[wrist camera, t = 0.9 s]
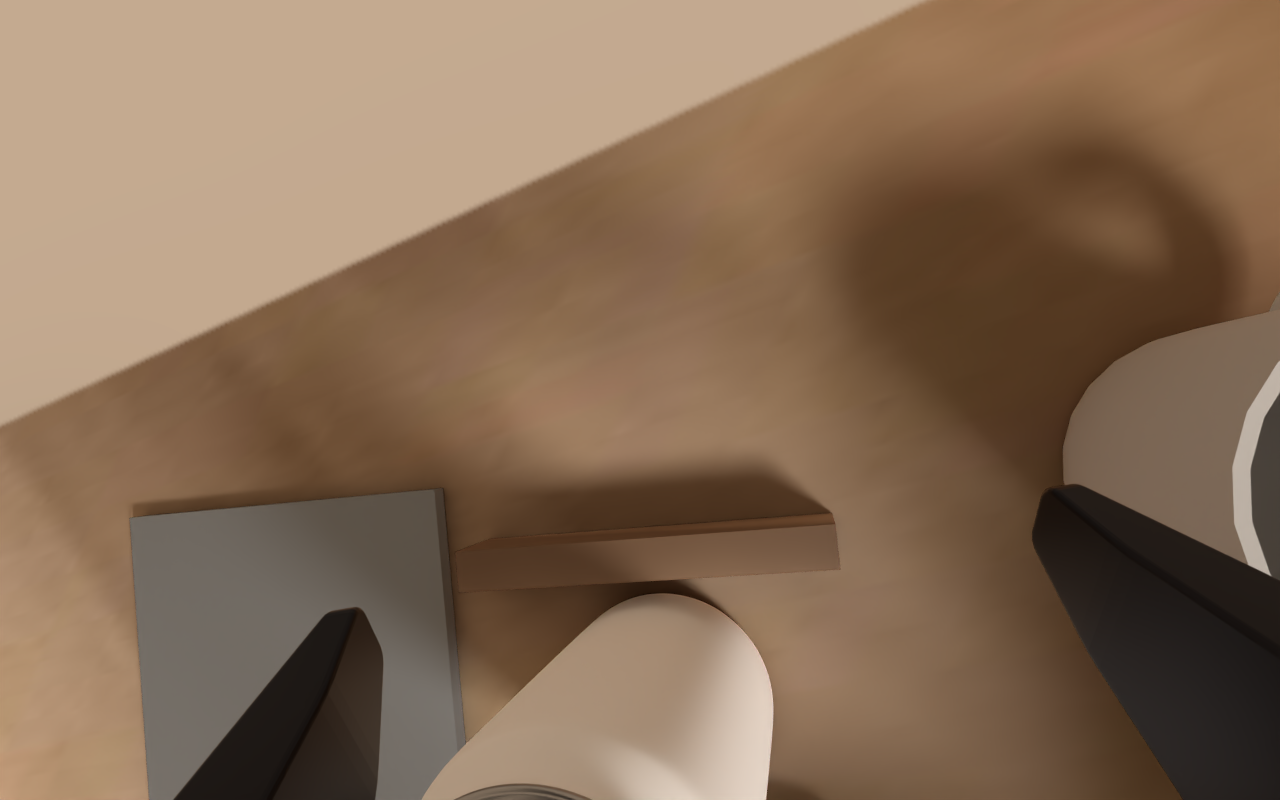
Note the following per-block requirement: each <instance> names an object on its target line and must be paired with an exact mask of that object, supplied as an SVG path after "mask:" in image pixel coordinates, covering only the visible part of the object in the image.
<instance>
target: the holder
mask: <svg viewBox="0 0 1280 800" xmlns="http://www.w3.org/2000/svg"><path fill="white" fill-rule="evenodd" d="M455 556H456V568H457V579H458V590H459V593H462V592H478V591H495V590H511V589H528V588H544V587H561V586H577V585H594V584H610V583H627V582H643V581H660V580H676V579H693V578H709V577H726V576H742V575H759V574H775V573H792V572H808V571H825V570H840V561H839V552H838V543H837V535H836V526H835V522H834V518H833V515H832V513H823V514H810V515H796V516H783V517H770V518H757V519H744V520H731V521H718V522H704V523H691V524H678V525H665V526H652V527H639V528H626V529H613V530H599V531H586V532H573V533H560V534H547V535H534V536H521V537H507V538H494V539H488V540H485V541H483V542H480V543H477V544H475V545H472V546H470V547H467V548H464V549H462V550H459V551H456V552H455Z"/></svg>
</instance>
